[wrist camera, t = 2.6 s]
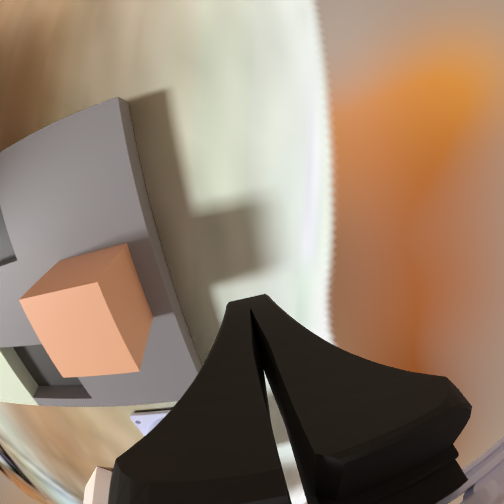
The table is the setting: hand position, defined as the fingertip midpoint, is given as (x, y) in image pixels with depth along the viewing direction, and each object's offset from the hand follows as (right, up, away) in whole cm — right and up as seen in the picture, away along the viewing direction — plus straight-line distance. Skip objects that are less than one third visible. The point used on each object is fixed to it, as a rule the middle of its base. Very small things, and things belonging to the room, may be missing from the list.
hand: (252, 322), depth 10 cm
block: (-8, 0, +5) cm, 9 cm away
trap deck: (-18, -1, +6) cm, 19 cm away
